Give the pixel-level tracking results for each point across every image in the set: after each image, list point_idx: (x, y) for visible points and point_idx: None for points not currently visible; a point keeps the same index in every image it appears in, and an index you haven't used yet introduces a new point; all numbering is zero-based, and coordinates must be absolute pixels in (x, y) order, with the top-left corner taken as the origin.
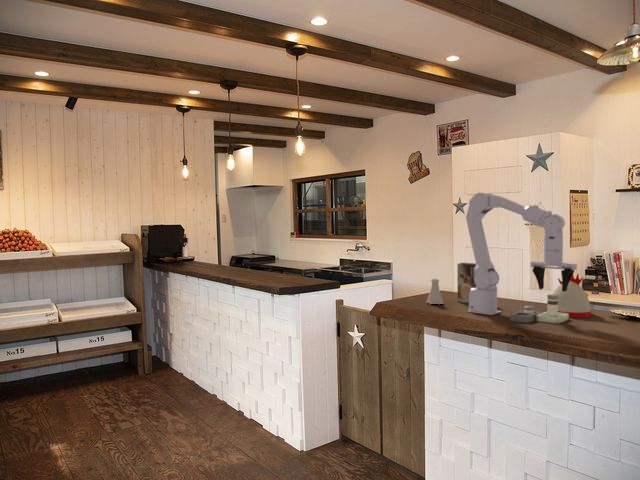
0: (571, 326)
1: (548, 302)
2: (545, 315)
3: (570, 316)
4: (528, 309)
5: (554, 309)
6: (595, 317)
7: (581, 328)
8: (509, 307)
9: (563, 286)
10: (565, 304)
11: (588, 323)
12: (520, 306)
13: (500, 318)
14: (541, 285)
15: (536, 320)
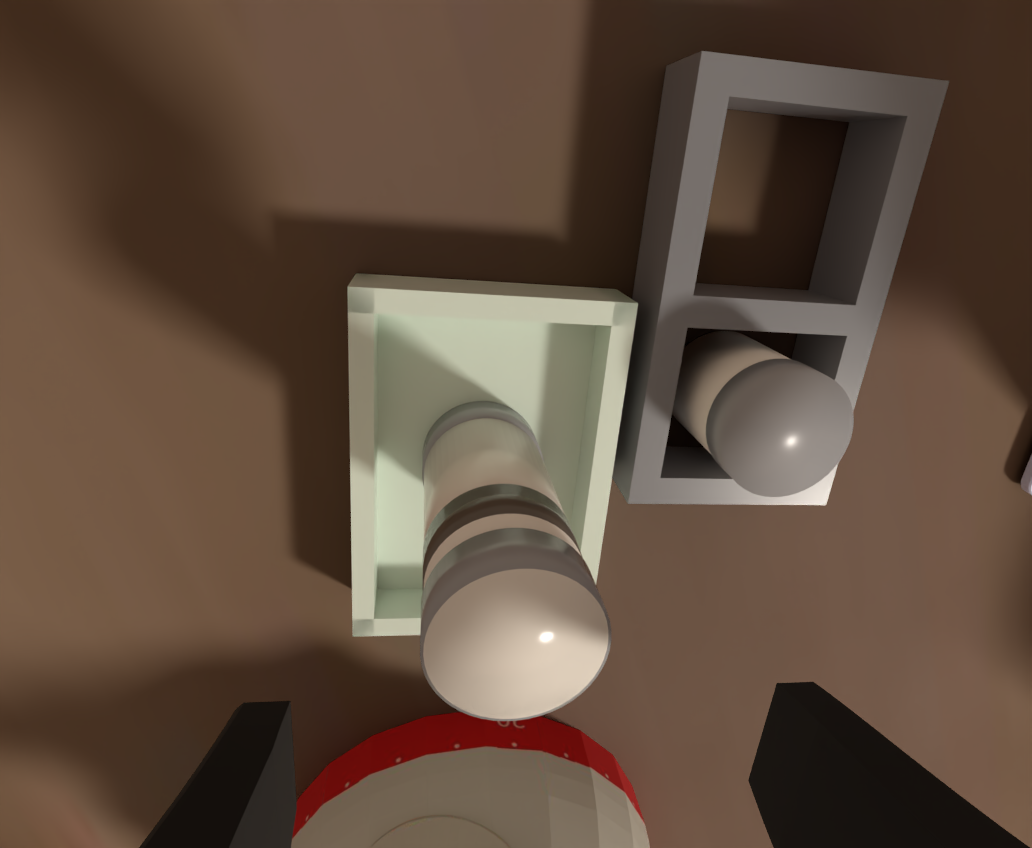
0: (169, 244)
1: (548, 509)
2: (576, 508)
3: (401, 726)
4: (771, 362)
5: (447, 467)
6: None
7: (16, 198)
8: (962, 743)
9: (211, 799)
10: (454, 830)
11: (117, 542)
12: None
13: (1002, 158)
14: (818, 772)
15: (612, 290)
